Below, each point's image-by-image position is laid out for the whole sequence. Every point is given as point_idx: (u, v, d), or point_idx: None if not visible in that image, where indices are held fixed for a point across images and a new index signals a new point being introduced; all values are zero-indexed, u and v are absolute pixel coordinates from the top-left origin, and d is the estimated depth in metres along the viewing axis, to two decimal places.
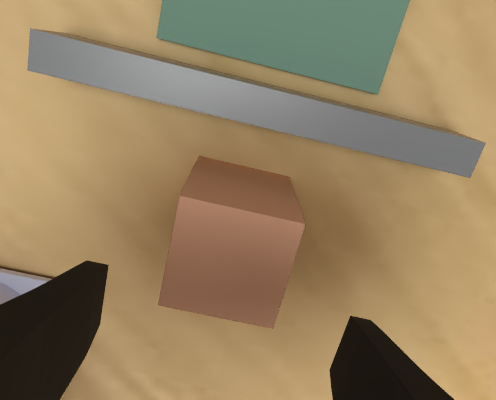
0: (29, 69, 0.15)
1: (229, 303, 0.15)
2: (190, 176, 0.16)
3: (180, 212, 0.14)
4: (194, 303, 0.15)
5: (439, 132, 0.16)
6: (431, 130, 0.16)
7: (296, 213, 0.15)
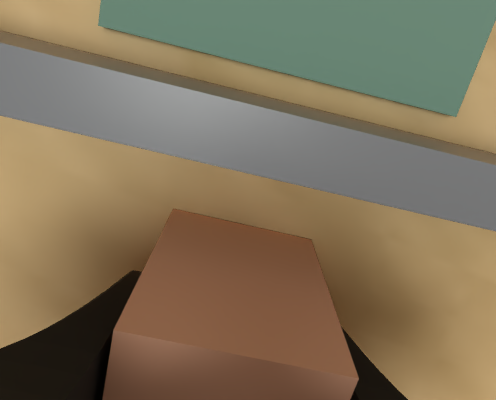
0: None
1: None
2: (148, 263, 0.09)
3: (117, 358, 0.07)
4: None
5: None
6: None
7: (337, 343, 0.08)
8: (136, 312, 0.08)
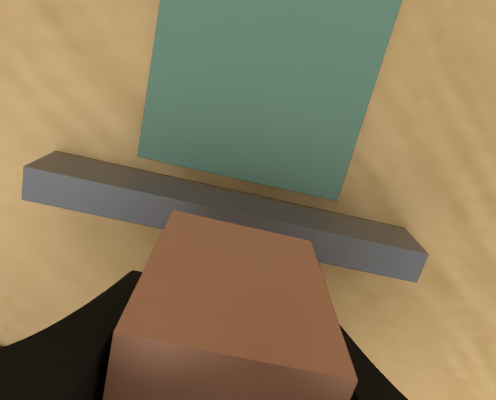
0: (23, 198, 0.17)
1: None
2: (148, 265, 0.09)
3: (117, 360, 0.07)
4: None
5: (387, 246, 0.18)
6: (380, 244, 0.18)
7: (336, 345, 0.08)
8: (136, 314, 0.08)
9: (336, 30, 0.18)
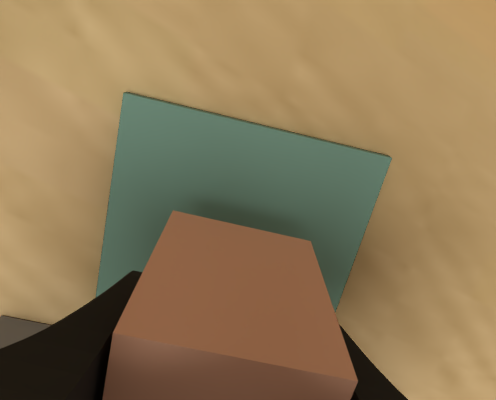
0: None
1: None
2: (148, 265, 0.09)
3: (116, 361, 0.07)
4: None
5: None
6: None
7: (336, 345, 0.08)
8: (135, 315, 0.08)
9: (311, 205, 0.16)
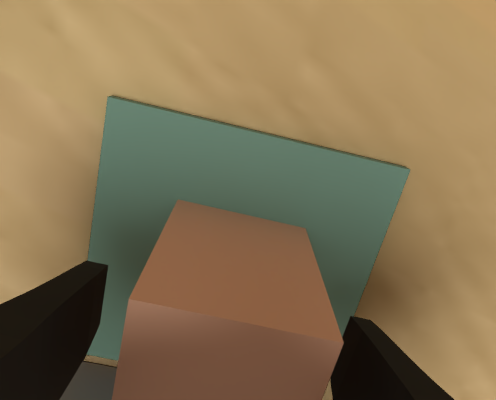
0: None
1: None
2: (157, 245, 0.10)
3: (131, 324, 0.08)
4: None
5: None
6: None
7: (325, 314, 0.09)
8: (148, 285, 0.09)
9: (319, 222, 0.14)
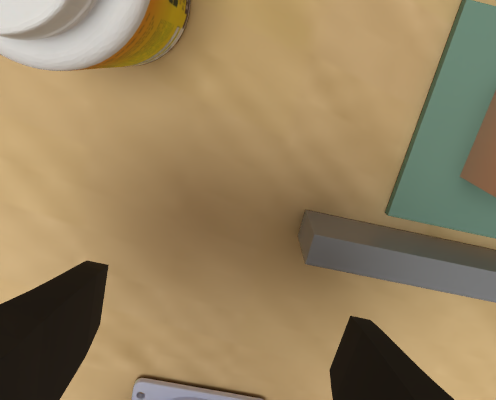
0: (306, 263, 0.18)
1: None
2: None
3: None
4: None
5: None
6: None
7: None
8: None
9: None
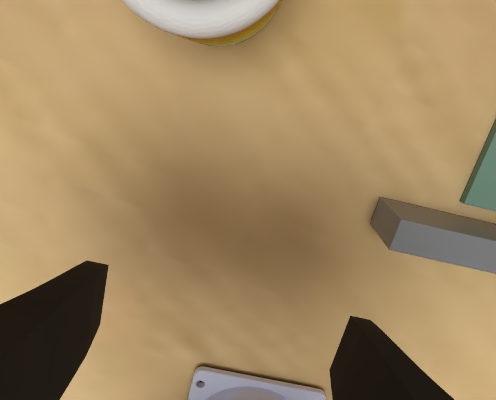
0: (390, 249, 0.18)
1: None
2: None
3: None
4: None
5: None
6: None
7: None
8: None
9: None
